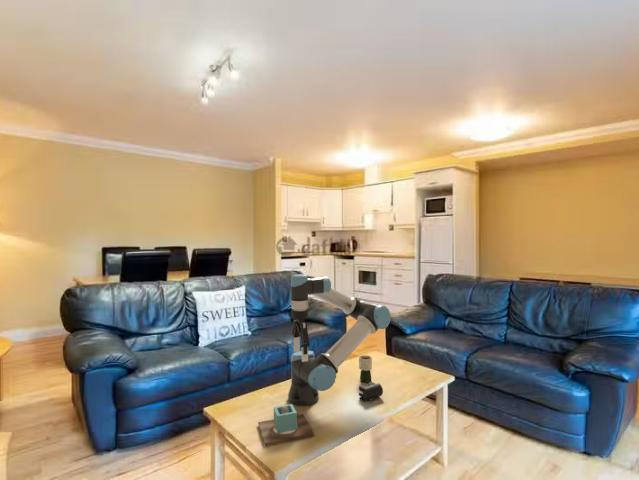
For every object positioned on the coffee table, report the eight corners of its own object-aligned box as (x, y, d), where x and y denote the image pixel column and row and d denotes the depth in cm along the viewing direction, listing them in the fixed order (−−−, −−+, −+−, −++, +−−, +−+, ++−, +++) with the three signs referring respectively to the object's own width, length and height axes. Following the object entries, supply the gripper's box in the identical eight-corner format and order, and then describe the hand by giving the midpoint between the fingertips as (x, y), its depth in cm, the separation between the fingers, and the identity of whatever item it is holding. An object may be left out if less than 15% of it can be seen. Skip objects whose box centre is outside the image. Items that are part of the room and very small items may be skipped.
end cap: (367, 404, 169) (367, 390, 169) (358, 398, 175) (358, 385, 175) (383, 398, 175) (383, 385, 174) (373, 393, 181) (373, 380, 180)
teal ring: (273, 423, 150) (273, 407, 150) (292, 419, 153) (291, 403, 153) (277, 433, 143) (277, 416, 143) (297, 429, 145) (296, 412, 145)
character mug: (366, 375, 202) (365, 353, 202) (376, 379, 198) (376, 356, 197) (354, 382, 194) (354, 358, 194) (365, 385, 190) (364, 361, 189)
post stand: (258, 425, 152) (257, 402, 152) (303, 417, 159) (302, 394, 158) (264, 446, 137) (264, 421, 137) (314, 436, 144) (313, 411, 143)
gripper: (285, 304, 170) (286, 348, 171) (299, 316, 147) (300, 367, 147) (300, 303, 173) (301, 346, 173) (316, 314, 149) (317, 364, 149)
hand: (300, 356), depth 160 cm, fingers open, 13 cm apart
